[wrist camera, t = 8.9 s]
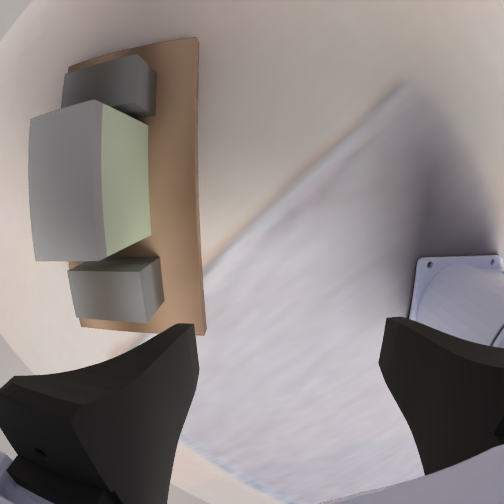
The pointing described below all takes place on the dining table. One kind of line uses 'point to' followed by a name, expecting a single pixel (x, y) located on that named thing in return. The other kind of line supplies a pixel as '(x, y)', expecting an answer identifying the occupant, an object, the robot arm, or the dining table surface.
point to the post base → (160, 192)
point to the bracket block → (87, 182)
